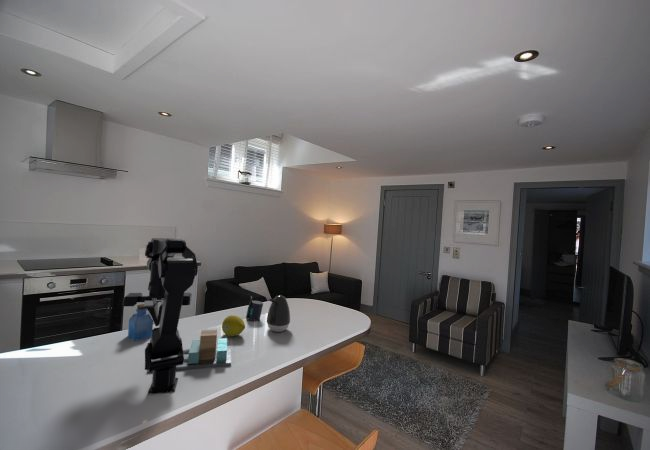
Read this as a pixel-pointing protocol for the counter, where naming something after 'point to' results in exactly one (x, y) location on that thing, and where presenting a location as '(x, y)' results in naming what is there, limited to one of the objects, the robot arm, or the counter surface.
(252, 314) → the speaker
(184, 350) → the vise jaw
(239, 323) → the lemon
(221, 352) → the vise
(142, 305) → the perfume bottle
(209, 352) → the walnut block
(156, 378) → the robot arm
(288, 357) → the counter surface
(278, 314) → the pump dispenser
